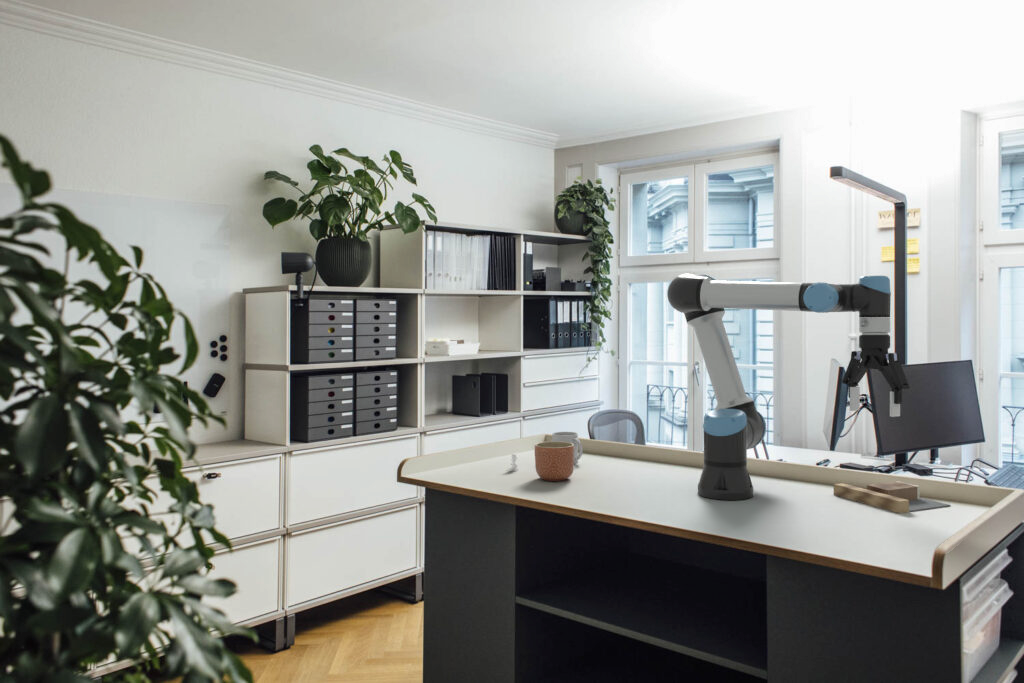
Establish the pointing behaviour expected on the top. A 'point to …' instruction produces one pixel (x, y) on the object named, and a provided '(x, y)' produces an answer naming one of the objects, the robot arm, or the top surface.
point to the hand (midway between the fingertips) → (874, 413)
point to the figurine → (513, 463)
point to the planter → (554, 460)
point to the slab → (897, 490)
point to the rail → (872, 498)
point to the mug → (571, 438)
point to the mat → (924, 504)
